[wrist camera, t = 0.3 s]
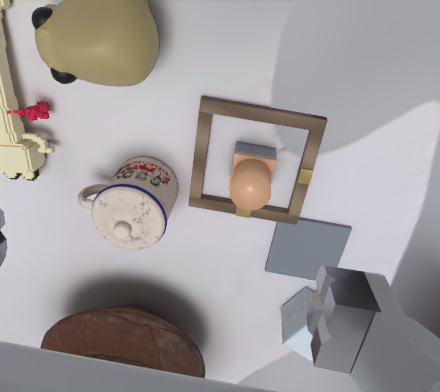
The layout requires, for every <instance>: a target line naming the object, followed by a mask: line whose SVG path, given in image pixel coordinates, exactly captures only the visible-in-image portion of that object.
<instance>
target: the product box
mask: <svg viewBox="0 0 440 392" xmlns="http://www.w3.org/2000/svg"><path fill="white" fill-rule="evenodd" d="M312 292H313V291H312V290H310V289H308V288H307V287H305V288H304V289H303V290H301V291H300V292H299V293H298V294H297V295H295V296H294V297H293V298H292V299H291V300H289V301H288V302H287V303H286V304H285V305H283V306H282V307H281V316H282V338H283V344H284V345H285V346H287V347H289V348H290V349H292V350H294V351H295V352H297V353H299V354H300V355H302V356H304V357H305V358H307V359H308V360H310V361H312V362H313V357H312V351H311V346H310V344H311V341H312V338H313V336H312V334H311V333H310V332H309V331H308V327H307V309H308V303H309V299H310V296H311V293H312Z"/></svg>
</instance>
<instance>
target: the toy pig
mask: <svg viewBox="0 0 440 392" xmlns="http://www.w3.org/2000/svg"><path fill="white" fill-rule="evenodd" d="M32 23H33V26H34V28H35V41H36V45H37V49H38V52H39V54H40V56H41V58H42V60H43V61H44V62H45V63H46V64H47V66H48V68H50V69H51V74H52V76H53V78H54V79H55V80H56V81H58V82H60V83H62V84H69V83H72V82H74V81H75V80H76V79H81V80H85V81H88V82H91V83H95V84H100V85H106V86H132V85H136V84H139V83H141V82H142V81H143V80H145V79H146V78H147V76H148V75H149V74H150V73H151V71H152V69H153V67H154V65H155V63H156V61H157V58H158V57H157V56H158V50H159V36H158V31H157V27H156V23H155V21H154V18H153V16H152V14H151V12H150V11H149V3H148V1H147V0H65V1H63V2H62V3H60V4H59V5H58V6H56V5H53V4H48V5H46V6H45V7H40V8H37V9H36V10H35V11H34V12H33V14H32Z"/></svg>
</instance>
